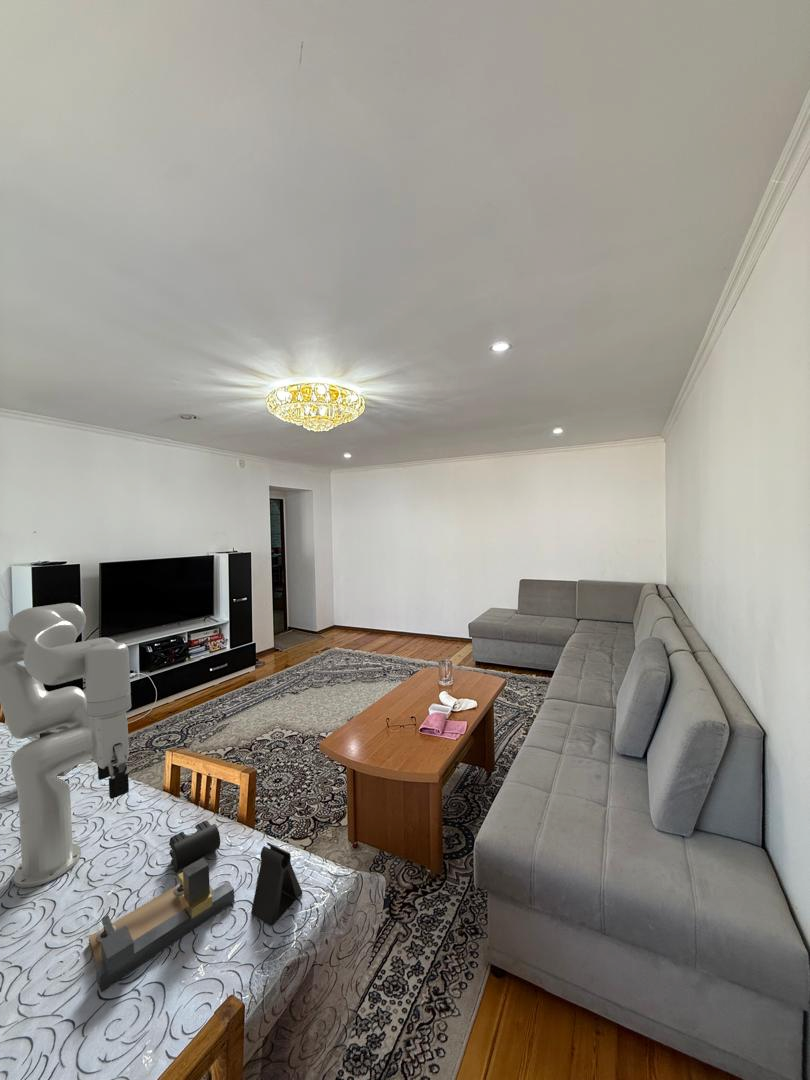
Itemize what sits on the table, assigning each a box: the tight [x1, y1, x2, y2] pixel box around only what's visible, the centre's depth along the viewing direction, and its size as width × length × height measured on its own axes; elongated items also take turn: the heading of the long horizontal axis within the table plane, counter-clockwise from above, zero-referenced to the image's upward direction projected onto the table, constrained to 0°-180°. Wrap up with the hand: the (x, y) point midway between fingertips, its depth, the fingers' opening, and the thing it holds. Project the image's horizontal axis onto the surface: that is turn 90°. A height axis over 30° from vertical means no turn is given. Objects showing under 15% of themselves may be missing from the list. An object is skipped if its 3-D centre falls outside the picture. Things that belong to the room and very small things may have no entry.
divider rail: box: [95, 881, 235, 993], centre depth 86 cm, size 12×24×6 cm, turn 137°
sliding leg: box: [177, 857, 212, 918], centre depth 90 cm, size 12×4×9 cm, turn 47°
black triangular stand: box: [250, 842, 303, 928], centre depth 91 cm, size 9×6×12 cm, turn 149°
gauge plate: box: [88, 883, 214, 965], centre depth 88 cm, size 8×21×2 cm, turn 137°
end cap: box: [168, 819, 221, 873], centre depth 104 cm, size 10×7×7 cm
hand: (113, 785), depth 88 cm, fingers open, 9 cm apart
